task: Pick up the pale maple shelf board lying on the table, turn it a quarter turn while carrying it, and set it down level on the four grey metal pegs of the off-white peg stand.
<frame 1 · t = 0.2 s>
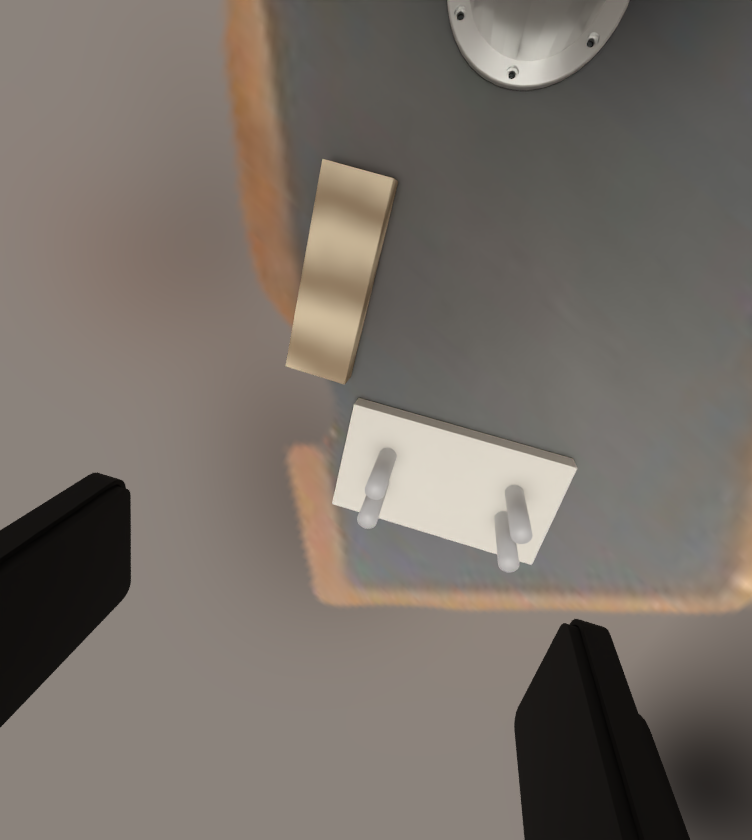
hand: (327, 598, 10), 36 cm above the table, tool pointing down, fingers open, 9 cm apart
peg stand: (446, 477, 48), on the table
shelf board: (342, 278, 43), on the table
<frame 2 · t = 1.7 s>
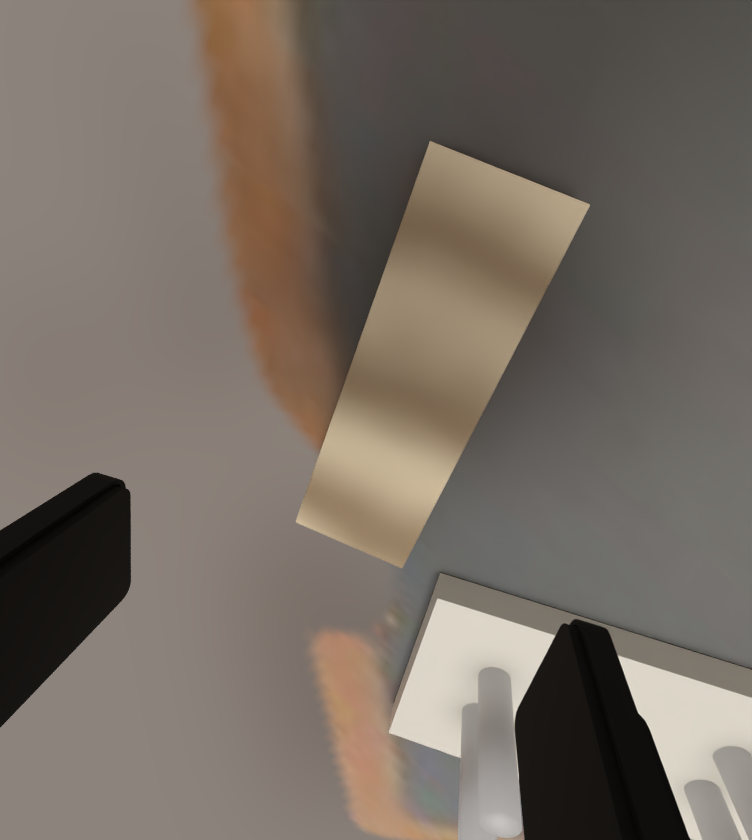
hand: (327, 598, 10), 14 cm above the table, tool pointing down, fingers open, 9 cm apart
peg stand: (590, 701, 28), on the table
shelf board: (420, 374, 23), on the table
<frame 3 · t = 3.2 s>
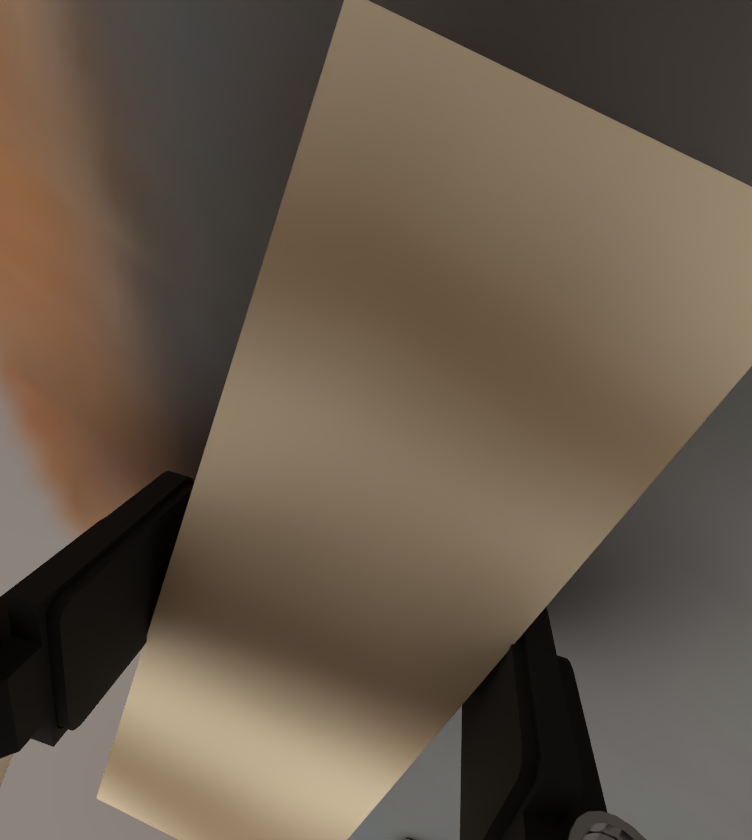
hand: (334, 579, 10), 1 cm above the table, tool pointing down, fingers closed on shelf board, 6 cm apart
shelf board: (349, 542, 11), on the table, touching gripper
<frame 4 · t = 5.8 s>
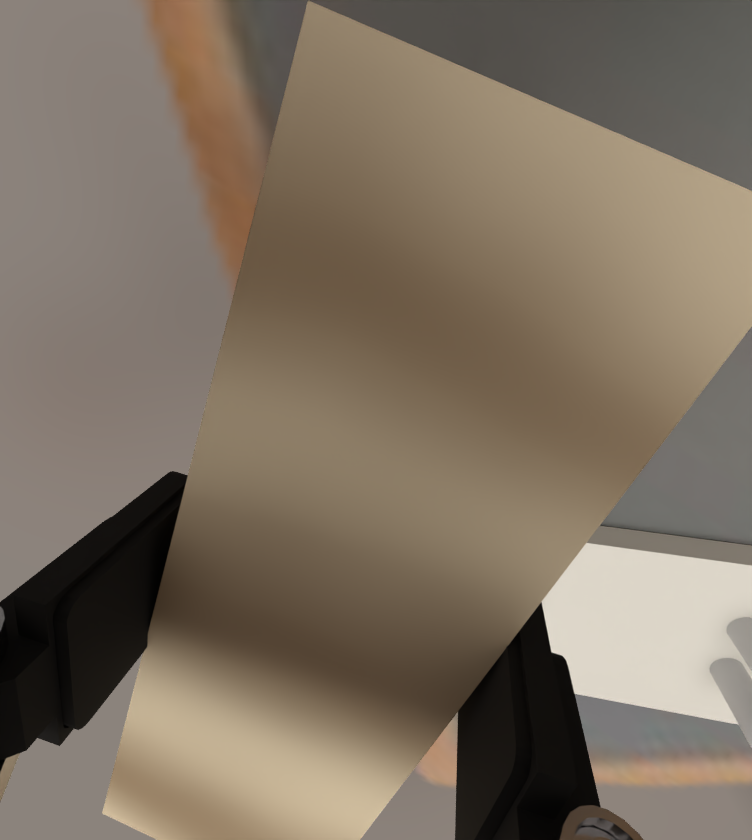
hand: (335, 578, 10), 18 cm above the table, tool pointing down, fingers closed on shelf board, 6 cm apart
peg stand: (609, 606, 30), on the table
shelf board: (346, 548, 11), point 17 cm above the table, touching gripper
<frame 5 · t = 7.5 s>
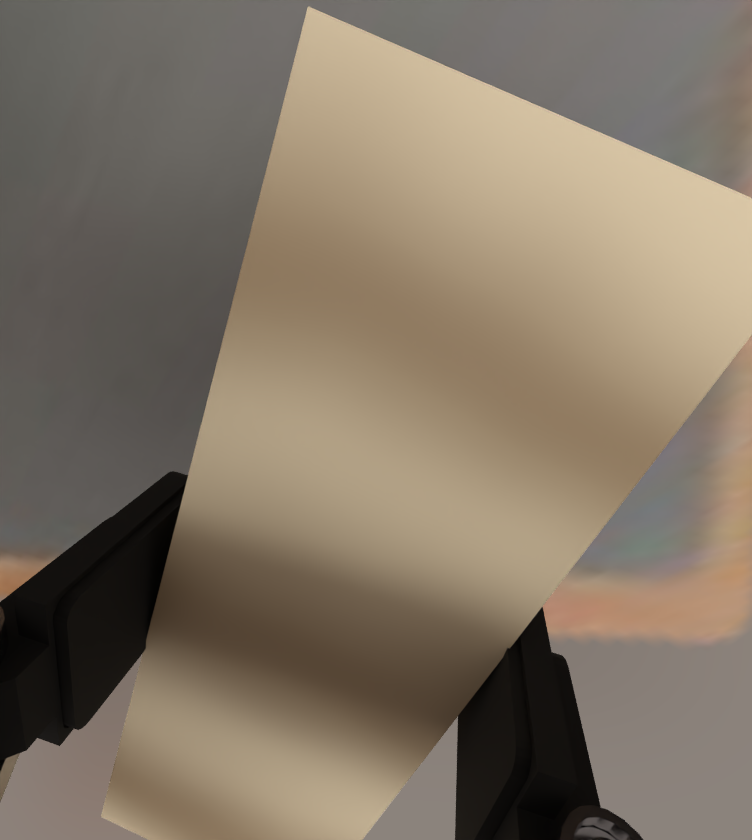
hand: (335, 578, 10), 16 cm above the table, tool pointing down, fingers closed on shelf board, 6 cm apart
shelf board: (345, 551, 11), point 15 cm above the table, touching gripper
when the fingers open (11 cm above the table, at t = 8.7 s): shelf board stays where it is, resting on peg stand.
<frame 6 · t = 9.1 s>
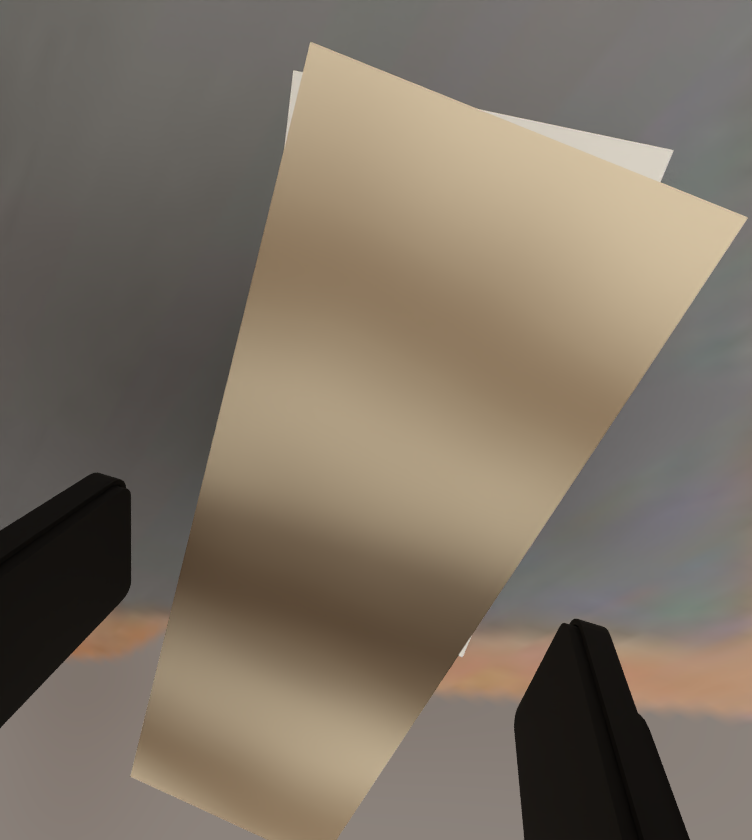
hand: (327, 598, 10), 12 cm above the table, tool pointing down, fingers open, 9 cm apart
peg stand: (402, 407, 20), on the table
shelf board: (351, 524, 12), point 9 cm above the table, touching peg stand
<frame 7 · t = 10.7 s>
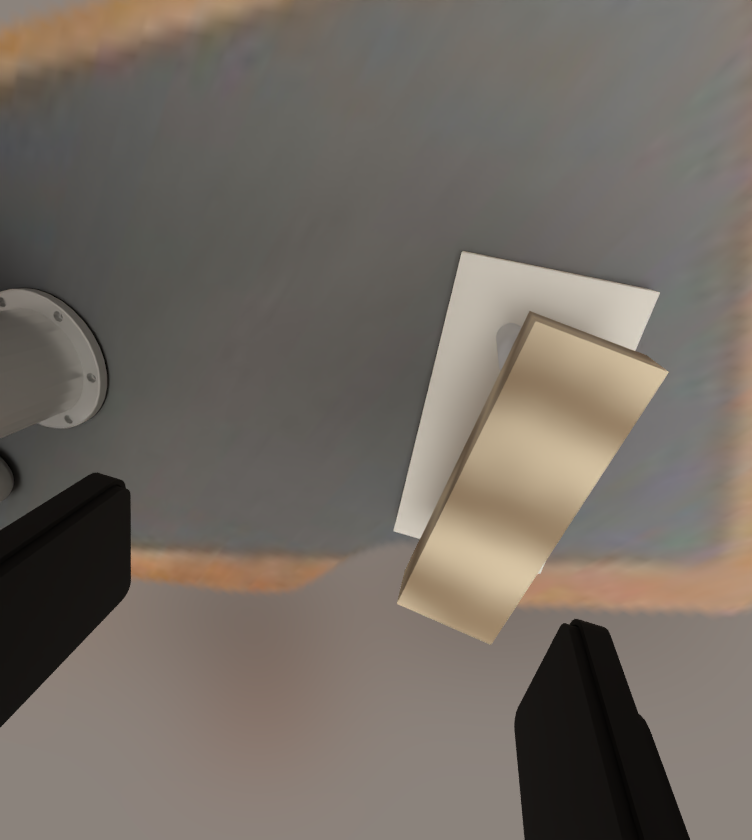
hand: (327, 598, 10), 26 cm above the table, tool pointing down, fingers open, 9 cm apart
peg stand: (504, 420, 34), on the table
shelf board: (507, 479, 26), point 9 cm above the table, touching peg stand
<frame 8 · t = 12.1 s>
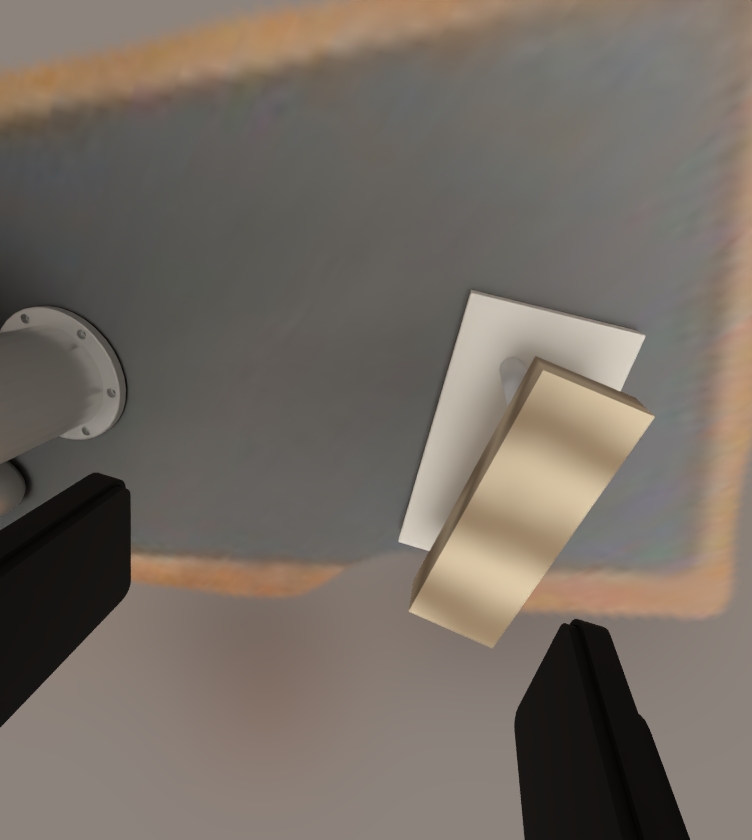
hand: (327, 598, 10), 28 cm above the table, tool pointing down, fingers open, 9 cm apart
peg stand: (503, 442, 38), on the table
shelf board: (510, 500, 29), point 9 cm above the table, touching peg stand
plastic bottle: (9, 475, 50), on the table
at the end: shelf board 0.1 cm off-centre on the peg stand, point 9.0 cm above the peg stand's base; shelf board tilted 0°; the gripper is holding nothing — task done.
